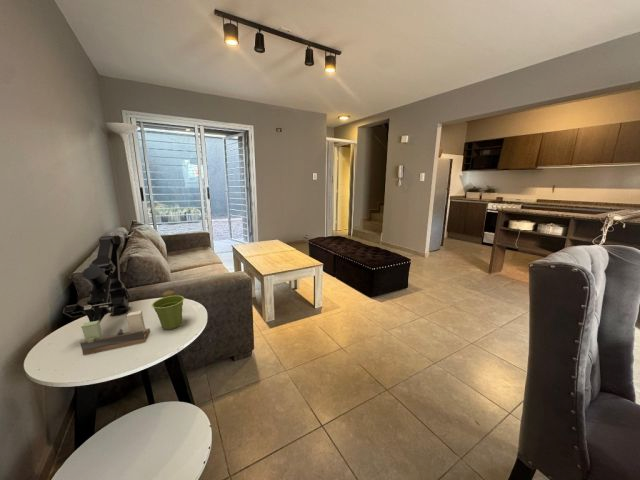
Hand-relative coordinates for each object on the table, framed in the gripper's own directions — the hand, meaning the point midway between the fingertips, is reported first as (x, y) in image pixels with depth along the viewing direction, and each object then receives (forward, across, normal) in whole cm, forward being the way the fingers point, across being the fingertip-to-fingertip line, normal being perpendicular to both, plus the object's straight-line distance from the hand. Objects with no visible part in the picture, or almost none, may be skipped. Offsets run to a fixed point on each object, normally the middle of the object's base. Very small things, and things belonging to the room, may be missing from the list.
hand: (94, 328), depth 95 cm
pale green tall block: (+5, 0, -3) cm, 6 cm away
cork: (-7, -22, -18) cm, 29 cm away
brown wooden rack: (+6, -6, -5) cm, 10 cm away
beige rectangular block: (+3, -13, -4) cm, 14 cm away
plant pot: (+2, -24, -9) cm, 26 cm away
